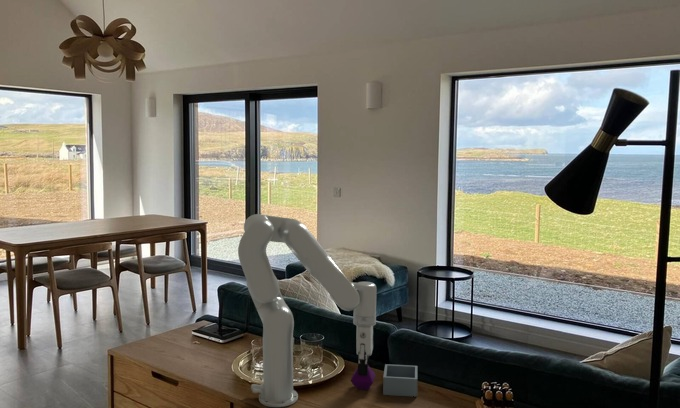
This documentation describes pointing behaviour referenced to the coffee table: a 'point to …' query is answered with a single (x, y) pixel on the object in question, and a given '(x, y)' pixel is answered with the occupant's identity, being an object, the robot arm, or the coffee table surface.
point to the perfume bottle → (363, 379)
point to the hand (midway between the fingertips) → (363, 371)
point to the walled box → (400, 380)
